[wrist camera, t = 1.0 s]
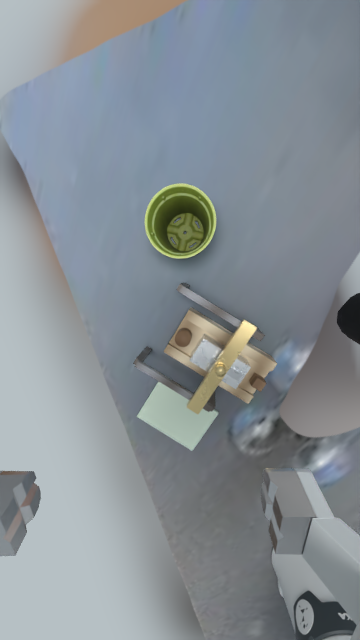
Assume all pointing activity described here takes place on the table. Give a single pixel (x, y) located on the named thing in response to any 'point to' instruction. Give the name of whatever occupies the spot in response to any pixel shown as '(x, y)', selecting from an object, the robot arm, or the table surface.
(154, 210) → the plant pot
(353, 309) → the portable speaker
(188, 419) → the sage mat
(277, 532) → the robot arm
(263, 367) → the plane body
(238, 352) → the brass bolt
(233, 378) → the grey block with handle
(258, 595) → the table surface
